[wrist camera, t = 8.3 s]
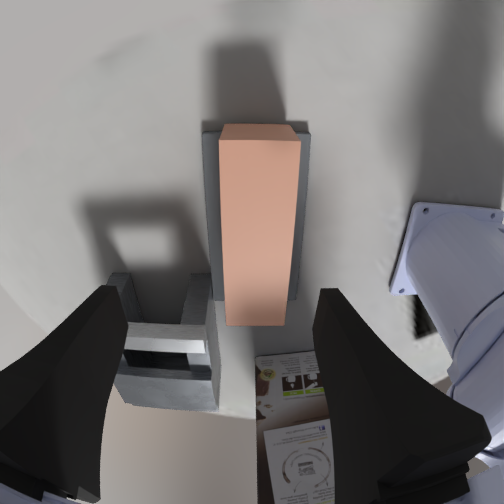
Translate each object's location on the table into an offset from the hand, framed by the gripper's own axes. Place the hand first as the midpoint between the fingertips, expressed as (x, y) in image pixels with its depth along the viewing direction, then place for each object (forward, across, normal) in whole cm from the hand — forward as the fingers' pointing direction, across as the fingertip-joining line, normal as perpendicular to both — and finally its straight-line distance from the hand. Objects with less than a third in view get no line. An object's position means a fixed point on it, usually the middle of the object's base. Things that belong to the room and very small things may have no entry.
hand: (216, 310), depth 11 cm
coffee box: (+10, -6, +19) cm, 23 cm away
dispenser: (+10, +5, +11) cm, 16 cm away
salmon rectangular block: (+9, -2, +1) cm, 9 cm away
